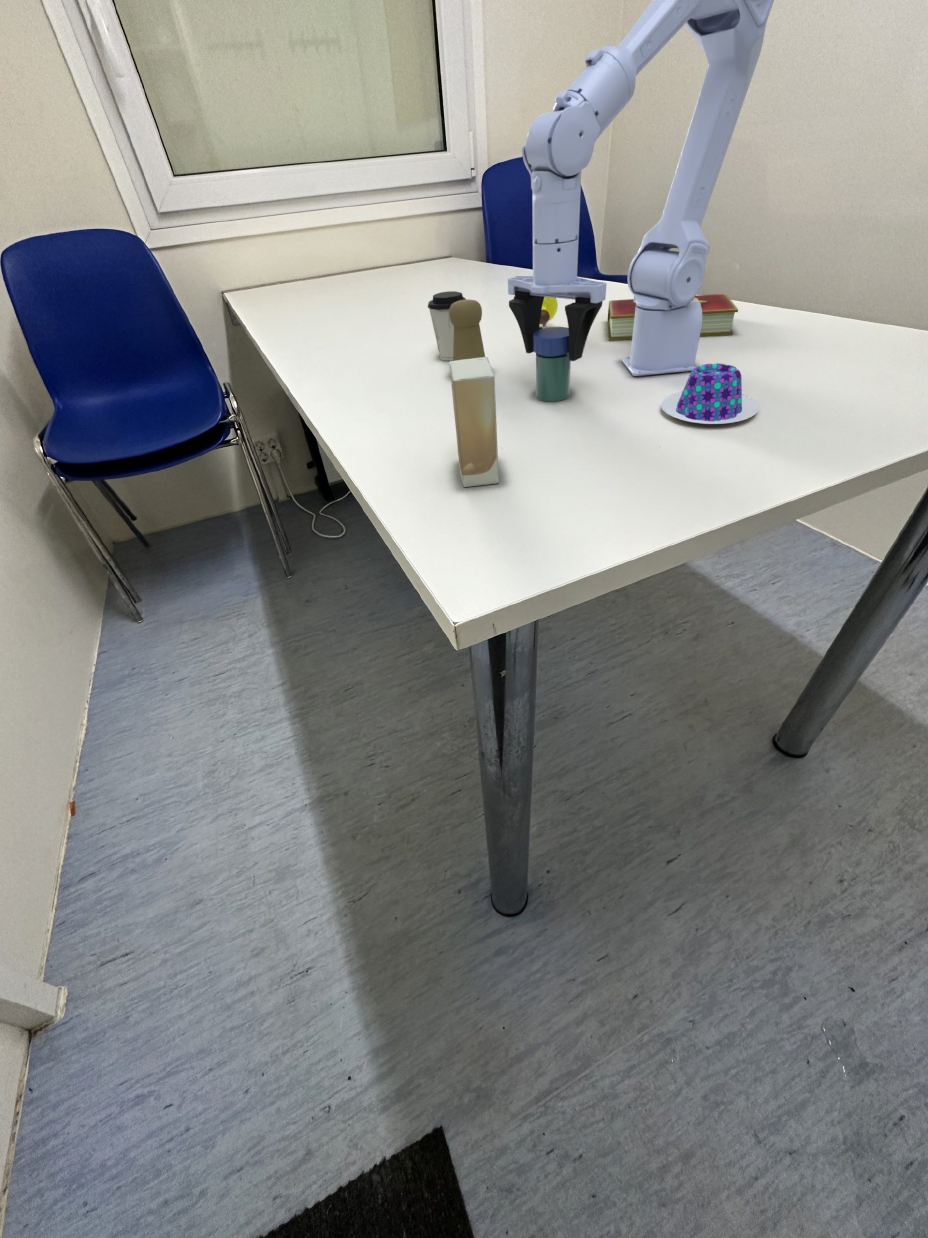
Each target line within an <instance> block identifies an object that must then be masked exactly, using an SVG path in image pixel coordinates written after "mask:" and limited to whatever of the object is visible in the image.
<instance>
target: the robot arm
mask: <svg viewBox="0 0 928 1238" xmlns="http://www.w3.org/2000/svg"><path fill="white" fill-rule="evenodd" d="M774 2H775V0H651V2H650V3H649V4H648V6H647V7H646V8H645V9H644V11H643V12H642V13H641V15H640V16H639V18H638V19H637V20H636V21H635V23H634V24H633V26H631V28H630V30H629V31H628V32H627V33H626V35H625V36H624V38H623V39H622V40H621V42H620V43H619V44H618V45H617V46H614V45H604V46H603V47H601V48H597V49H593V50H591V51H590V52H589V53H588V55H587V56H586V57H585V59H584V63H585V65H586V67H584V69H583V70H582V71H581V72H580V74H579V75H578V76H577V77H576V78H575V80H573V82H572V83H571V84H570V86H569V87H568V88H567V89H566V90H560V91H559V93H557V95H556V96H555V98H554V101H555V104H554V106H553V108H552V111H547V112H543V113H541V114H539V115H538V116H537V117H536V118H535V119H534V120H533V122H532V123H531V125H530V126H529V129H528V131H527V132H528V133H527V136H526V137H525V139H526V140H525V145H524V146H522V147H521V155H522V161H523V163H524V166H525V168H526V170H527V171H528V173H529V176H530V189H531V190H532V275H514V276H512V277H509V278H507V294H508V295H509V296H510V295H511V296H513V298H512V299H510V300H509V301H508V307H509V309H510V311H511V312H512V314H513V316H514V318H515V320H516V322H517V325H518V328H519V330H520V334H521V337H522V342H523V345H524V348H525V353H526V354H530V355H531V354H532V353H533V352H534V351H533V336H534V335H533V334H534V332H536V331H537V330H540V327H541V324H540V316H541V310H542V305H543V300H544V297H554V298H556V299H565V300H574V302H572V303H569V304H567V305H564V311H565V316H566V320H567V328H569V360H570V361H571V362H575V361H577V360H580V359H582V357H583V354H584V349H585V346H586V343H587V340H588V337H589V333H590V331H591V328H592V326H593V324H594V321H595V319H596V317H597V316H598V313H599V312H600V310H601V308H602V306H603V302H604V301H606V296H607V284H608V283H607V282H606V281H605V282H603V281H598V280H597V281H596V280H593V279H587V278H582V277H578V263H579V261H578V259H579V239H580V237H579V236H580V217H581V216H580V213H581V188H582V170H584V169H585V168H587V167H588V166H589V163H590V161H591V159H592V157H593V153H594V148H595V144H596V142H597V140H598V139H599V137H601V135H602V134H603V133H604V131H606V130H607V128H608V127H609V126H610V125H611V124H612V122H613V121H614V120H615V118H616V117H617V116H619V114H620V112H622V111H623V109H625V107H626V106H627V104H629V102H630V101H631V100H632V98H633V96H634V94H635V91H636V90H635V88H636V80H637V76H638V75H639V74H640V73H641V72H642V71H643V69H644V68H645V67H646V66H647V65H649V63H650V62H651V61H652V60H653V59H654V58H655V57H656V56H657V55H658V54H659V52H660V51H661V50H662V49H663V48H664V47H665V46H666V45H667V44H668V43H669V42H670V41H671V39H672V38H673V37H674V36H675V35H676V34H677V33H678V32H679V31H680V30H681V29H682V28H683V27H684V25H686V27H687V28H688V31H689V32H690V34H691V35H692V37H693V39H694V40H695V42H696V44H697V46H698V47H699V49H700V50H701V51H702V52H703V53H704V54H705V58H706V61H707V69H706V72H705V75H704V78H703V81H702V85H701V88H700V91H699V94H698V98H697V101H696V104H695V107H694V111H693V114H692V117H691V121H690V124H689V127H688V130H687V133H686V137H685V139H684V142H683V147H682V150H681V153H680V156H679V158H678V163H677V166H676V168H675V173H674V175H673V179H672V182H671V186H670V189H669V192H668V194H667V198H666V201H665V205H664V208H663V211H662V214H661V218H660V220H659V221H658V222H657V223H655V225H654V226H652V227H651V228H650V229H649V230H648V231H647V232H646V233H645V234H644V235H643V237H642V241H641V244H640V246H639V249H638V251H637V252H636V254H635V255H634V257H633V258H632V260H631V261H630V264H629V267H628V271H627V279H626V280H627V286H628V289H629V292H630V293H632V295H633V298H632V299H633V302H635V303H636V309H635V318H634V327H633V336H632V340H631V347H630V356H626V357H622V358H621V362H622V363H623V364H624V365H625V367H626V368H627V370H628V371H629V372H630V374H631V375H632V376H633V377H642V376H643V377H644V376H651V375H652V376H653V375H663V374H672V373H682V372H692V370H693V369H694V368H695V367H696V366H695V364H696V359H697V358H696V357H697V355H698V348H699V342H700V338H701V336H700V332H701V326H702V308H701V305H700V303H699V302H698V301H691V300H692V299H693V298H694V297H695V296H696V295H698V293H699V292H700V289H701V288H702V284H703V282H704V278H705V272H706V271H705V270H706V263H707V262H706V261H707V257H708V254H709V251H710V248H711V247H710V246H711V245H710V243H709V242H708V239H707V238H706V235H705V234H704V232H703V230H702V224H703V221H704V218H705V216H706V213H707V209H708V207H709V204H710V201H711V199H712V195H713V192H714V189H715V186H716V184H717V181H718V177H719V175H720V172H721V169H722V166H723V163H724V161H725V157H726V154H727V151H728V148H729V145H730V144H731V143H730V142H731V139H732V137H733V134H734V131H735V128H736V125H737V122H738V120H739V117H740V113H741V111H742V108H743V105H744V103H745V99H746V96H747V93H748V90H749V87H750V85H751V82H752V80H753V79H752V78H753V76H754V74H755V69H756V67H757V65H758V61H759V58H760V55H761V52H762V48H763V44H764V37H765V32H766V26H767V22H768V19H769V16H770V13H771V10H772V7H773V5H774ZM671 249H678V251H675V250H671ZM534 353H535V352H534Z"/></svg>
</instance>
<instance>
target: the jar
mask: <svg viewBox="0 0 928 1238" xmlns="http://www.w3.org/2000/svg"><path fill="white" fill-rule="evenodd" d="M571 369H572V361H570V360H569V353H566V354H562V355H554V356H546V355H539V354H536V353H535V398H536V399H537V400H538V401H542V402H546V403H547V402H548V403H549V402H550V403H551V402H554V403H555V402H560V401H563V400H566V399H567V398H569V397H570V396H571V395H570V394H571V371H572V370H571Z"/></svg>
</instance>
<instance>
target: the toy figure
mask: <svg viewBox="0 0 928 1238" xmlns="http://www.w3.org/2000/svg"><path fill="white" fill-rule="evenodd" d="M558 304H559V303H558V298H554V297H544V300H543V305H542V310H541V316H540V325H542V326H540V329H543V328H547V323H548V322H550V321H551V320H552V319H553V318H554V317H555V316H556V314H557V311H558Z"/></svg>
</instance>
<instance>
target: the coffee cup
mask: <svg viewBox="0 0 928 1238" xmlns="http://www.w3.org/2000/svg"><path fill="white" fill-rule="evenodd" d="M466 299H467V298H466V297H464V296H463V293H462V292H460V291H456V290H455V291H452V290H450V291H442V292H438V293H434V294H433V295H432V299H431V300H429V301H428V303H427V309H428V310H429V314H430V318H431V323H432V327H433V331H434V336H435V341H436V346H437V350H438V354H439V359H440V360H442V361H449V362H450V361H453V339H454V325H453V324H452V323H451V321H450V318H449V309H450V307H451V305H452V304H453V303H454V302H457V301H460V300H466Z"/></svg>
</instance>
